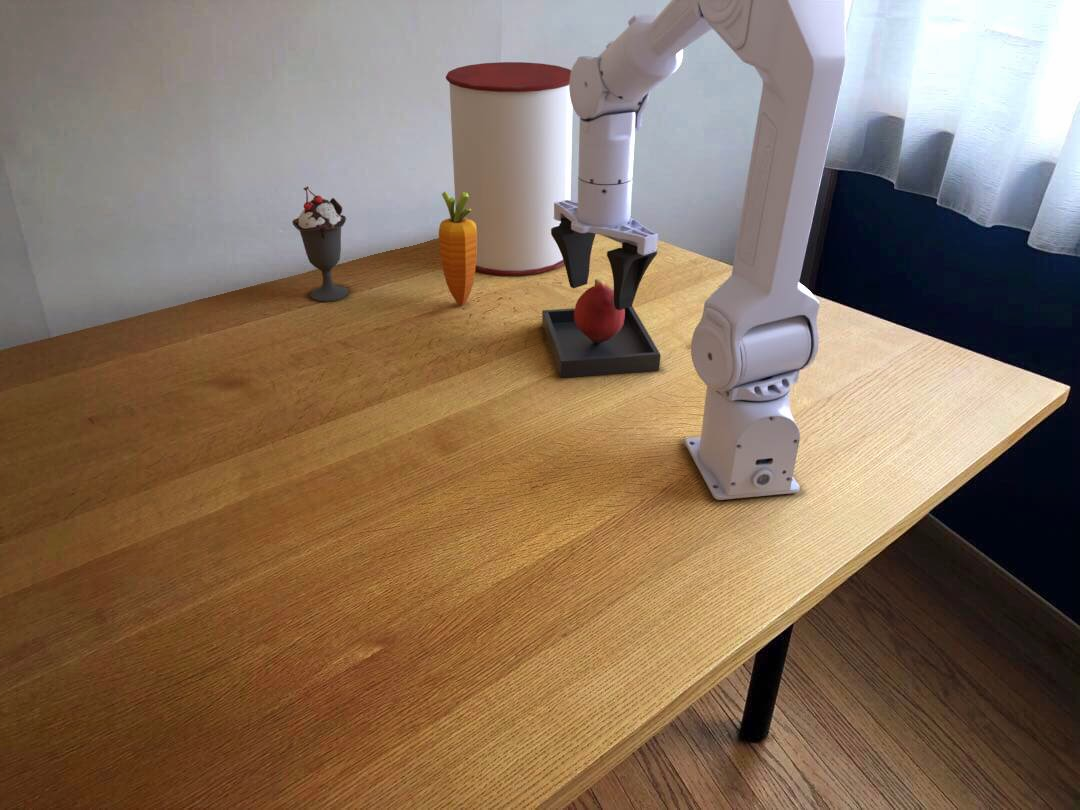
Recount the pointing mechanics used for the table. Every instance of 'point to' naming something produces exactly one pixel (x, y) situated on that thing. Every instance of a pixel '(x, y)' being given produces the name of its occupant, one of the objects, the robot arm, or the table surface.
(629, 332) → the tray
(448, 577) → the table surface
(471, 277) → the carrot
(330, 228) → the sundae
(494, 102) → the container
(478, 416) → the table surface
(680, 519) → the table surface
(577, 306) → the onion
